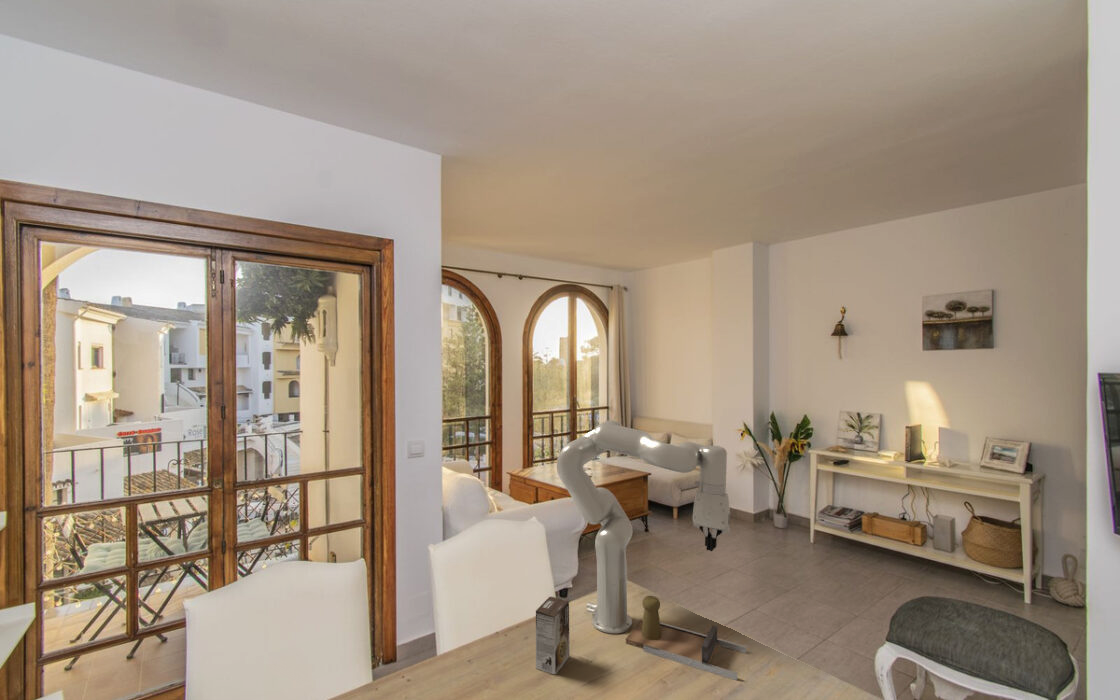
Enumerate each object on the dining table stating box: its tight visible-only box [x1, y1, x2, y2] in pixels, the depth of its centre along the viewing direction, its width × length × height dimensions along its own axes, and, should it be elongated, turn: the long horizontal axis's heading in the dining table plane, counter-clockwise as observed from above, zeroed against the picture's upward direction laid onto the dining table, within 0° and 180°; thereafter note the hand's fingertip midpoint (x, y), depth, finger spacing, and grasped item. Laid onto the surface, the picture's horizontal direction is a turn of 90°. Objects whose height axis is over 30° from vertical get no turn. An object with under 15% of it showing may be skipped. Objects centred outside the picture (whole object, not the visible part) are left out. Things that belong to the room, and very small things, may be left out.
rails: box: [642, 621, 748, 681], centre depth 146 cm, size 26×15×2 cm, turn 60°
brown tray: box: [625, 619, 718, 664], centre depth 149 cm, size 24×12×6 cm, turn 60°
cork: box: [641, 595, 662, 640], centre depth 152 cm, size 6×6×11 cm
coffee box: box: [535, 596, 570, 675], centre depth 141 cm, size 9×6×16 cm
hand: (710, 549), depth 150 cm, fingers closed
